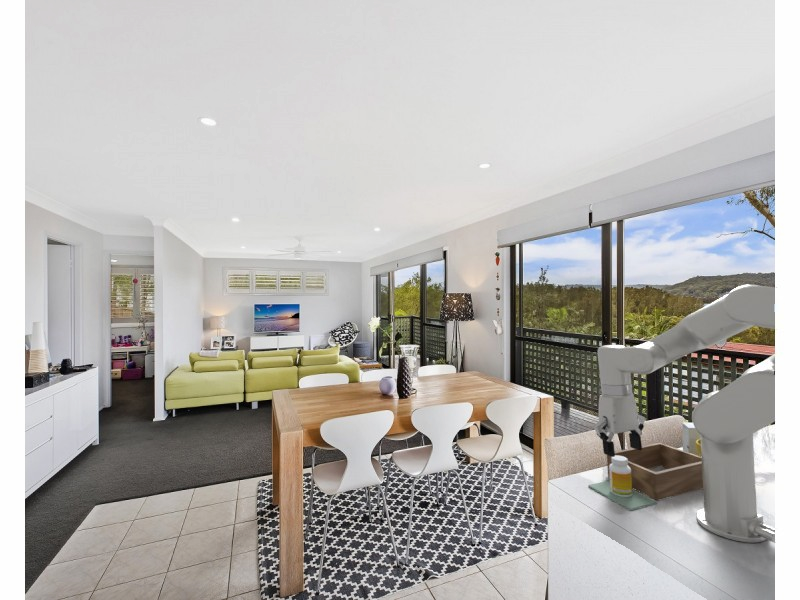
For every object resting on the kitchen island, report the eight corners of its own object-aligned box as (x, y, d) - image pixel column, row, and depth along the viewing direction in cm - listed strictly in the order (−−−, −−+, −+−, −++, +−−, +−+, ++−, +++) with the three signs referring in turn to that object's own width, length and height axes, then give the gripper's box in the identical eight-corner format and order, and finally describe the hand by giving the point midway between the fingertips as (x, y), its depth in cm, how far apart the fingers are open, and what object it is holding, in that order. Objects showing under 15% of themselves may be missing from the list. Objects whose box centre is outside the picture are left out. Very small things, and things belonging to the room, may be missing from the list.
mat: (656, 503, 102) (656, 501, 102) (630, 510, 99) (630, 508, 99) (612, 481, 115) (612, 479, 115) (588, 486, 112) (588, 485, 112)
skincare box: (682, 457, 130) (680, 421, 130) (698, 458, 128) (696, 422, 128) (689, 465, 124) (687, 427, 124) (705, 466, 122) (703, 428, 122)
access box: (713, 485, 110) (712, 460, 110) (657, 500, 103) (655, 474, 103) (660, 464, 125) (659, 442, 125) (607, 476, 118) (606, 453, 118)
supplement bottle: (636, 497, 104) (635, 461, 104) (616, 498, 104) (614, 462, 104) (625, 488, 110) (623, 453, 110) (606, 488, 110) (604, 454, 110)
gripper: (628, 384, 113) (634, 442, 113) (581, 391, 108) (587, 453, 107) (651, 387, 106) (658, 450, 106) (603, 396, 101) (609, 462, 100)
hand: (622, 451), depth 106 cm, fingers open, 9 cm apart
